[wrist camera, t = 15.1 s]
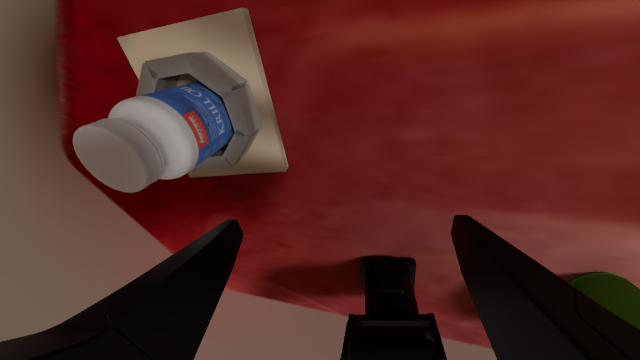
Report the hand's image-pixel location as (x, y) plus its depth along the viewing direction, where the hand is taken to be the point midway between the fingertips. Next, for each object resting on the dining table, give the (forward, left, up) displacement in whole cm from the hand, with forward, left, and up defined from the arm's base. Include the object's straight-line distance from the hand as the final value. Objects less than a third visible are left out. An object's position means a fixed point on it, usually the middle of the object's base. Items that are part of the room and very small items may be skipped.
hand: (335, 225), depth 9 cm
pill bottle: (+3, +12, -12) cm, 17 cm away
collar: (+3, +12, -12) cm, 18 cm away
